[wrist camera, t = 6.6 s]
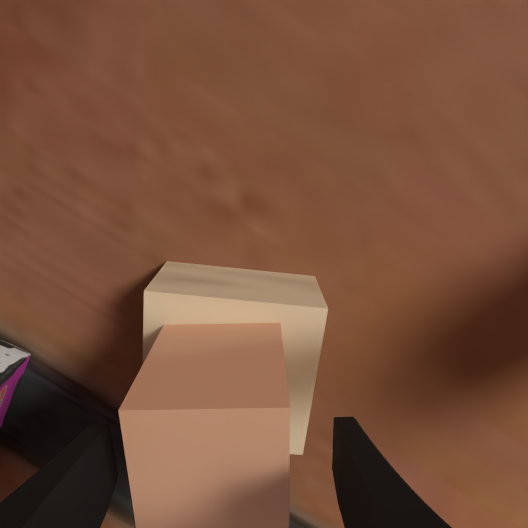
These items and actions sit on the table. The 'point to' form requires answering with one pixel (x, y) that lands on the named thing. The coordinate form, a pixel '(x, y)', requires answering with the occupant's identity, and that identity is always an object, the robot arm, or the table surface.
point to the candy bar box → (10, 374)
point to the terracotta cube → (210, 429)
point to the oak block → (246, 318)
